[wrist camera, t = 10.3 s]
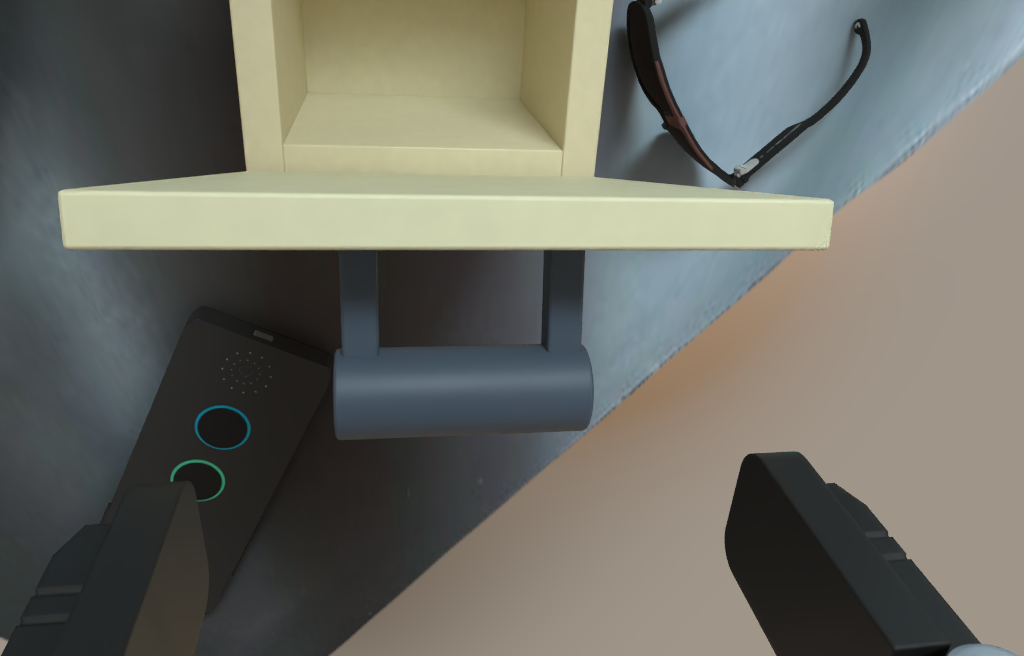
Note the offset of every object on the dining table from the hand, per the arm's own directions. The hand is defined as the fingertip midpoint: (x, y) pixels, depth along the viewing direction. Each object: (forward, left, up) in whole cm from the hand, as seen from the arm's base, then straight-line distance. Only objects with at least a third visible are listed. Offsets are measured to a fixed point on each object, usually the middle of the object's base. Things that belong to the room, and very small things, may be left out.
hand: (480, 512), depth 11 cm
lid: (-2, -1, -11) cm, 11 cm away
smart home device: (+24, +2, -30) cm, 39 cm away
